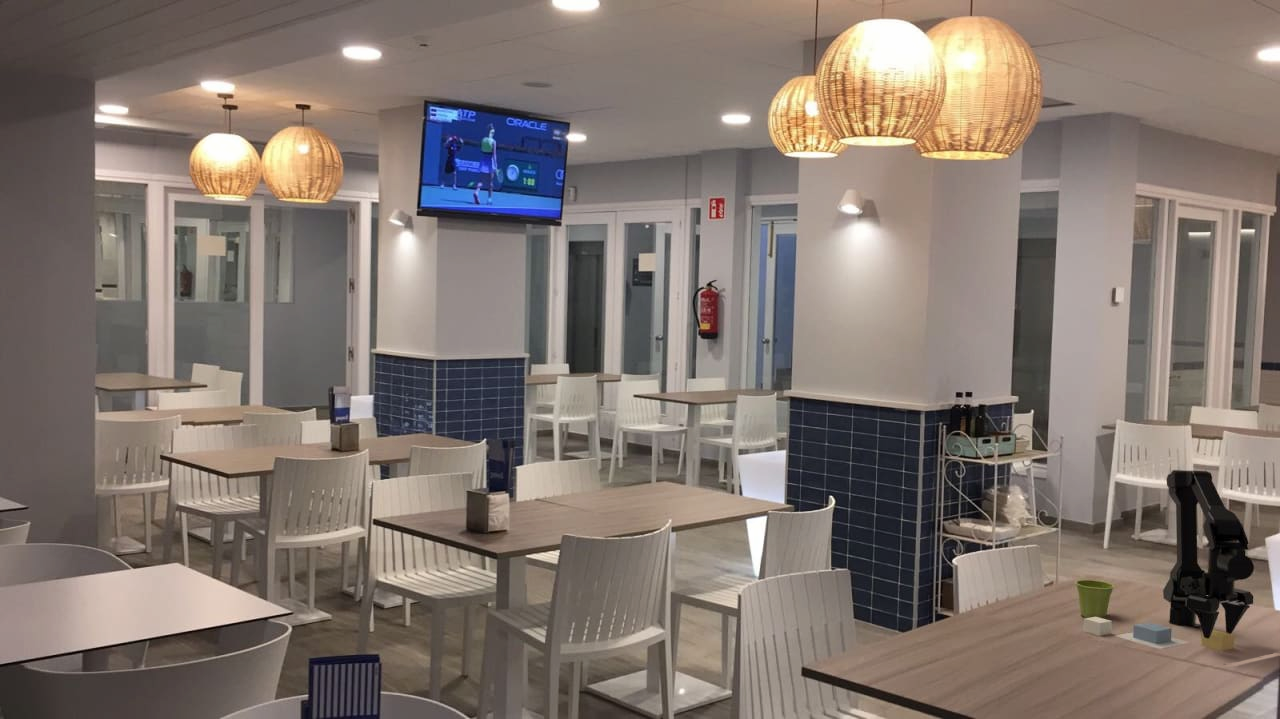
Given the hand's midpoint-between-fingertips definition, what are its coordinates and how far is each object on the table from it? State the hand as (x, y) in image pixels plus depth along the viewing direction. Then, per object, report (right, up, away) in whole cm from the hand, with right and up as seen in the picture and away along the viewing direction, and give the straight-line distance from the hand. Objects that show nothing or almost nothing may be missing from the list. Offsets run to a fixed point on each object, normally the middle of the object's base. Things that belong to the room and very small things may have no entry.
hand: (1217, 635), depth 269 cm
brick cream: (-25, -2, +9) cm, 27 cm away
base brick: (-14, -2, +4) cm, 14 cm away
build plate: (-14, -3, +5) cm, 15 cm away
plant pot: (-19, -2, +27) cm, 33 cm away
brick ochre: (0, -4, 0) cm, 4 cm away
